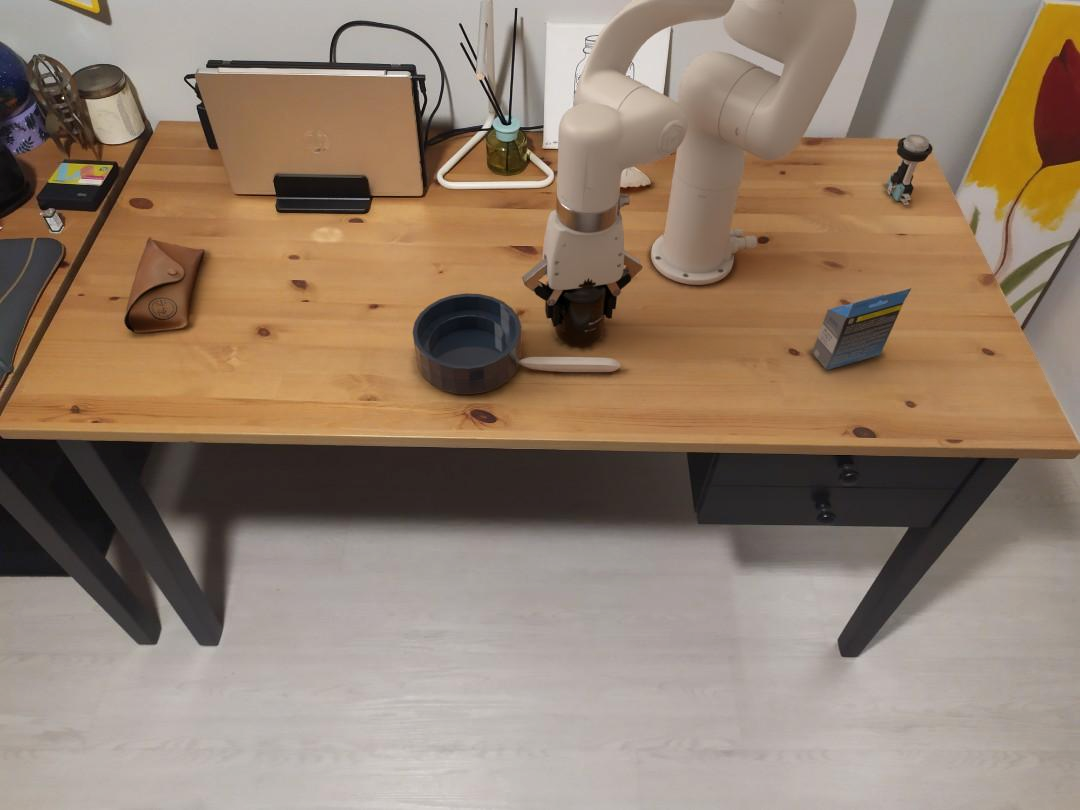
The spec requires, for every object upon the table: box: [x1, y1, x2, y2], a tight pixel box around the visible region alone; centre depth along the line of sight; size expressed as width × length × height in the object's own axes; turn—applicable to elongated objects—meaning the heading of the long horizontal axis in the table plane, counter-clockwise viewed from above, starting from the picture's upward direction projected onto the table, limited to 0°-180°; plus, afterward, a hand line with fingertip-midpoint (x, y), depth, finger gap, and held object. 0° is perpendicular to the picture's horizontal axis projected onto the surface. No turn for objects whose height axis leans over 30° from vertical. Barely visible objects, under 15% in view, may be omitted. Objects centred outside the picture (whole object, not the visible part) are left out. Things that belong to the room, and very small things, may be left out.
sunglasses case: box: [123, 236, 205, 334], centre depth 118 cm, size 18×7×7 cm
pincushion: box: [620, 166, 651, 189], centre depth 136 cm, size 12×6×6 cm, turn 87°
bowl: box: [412, 293, 523, 395], centre depth 109 cm, size 14×14×6 cm
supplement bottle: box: [554, 278, 607, 348], centre depth 110 cm, size 7×7×12 cm
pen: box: [519, 356, 621, 373], centre depth 109 cm, size 2×14×2 cm, turn 90°
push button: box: [886, 133, 934, 206], centre depth 133 cm, size 7×5×10 cm
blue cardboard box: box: [811, 287, 912, 371], centre depth 107 cm, size 9×4×12 cm, turn 110°
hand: (580, 315), depth 112 cm, fingers closed on supplement bottle, 6 cm apart
